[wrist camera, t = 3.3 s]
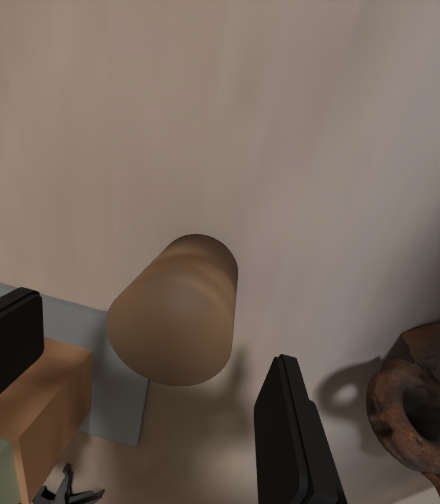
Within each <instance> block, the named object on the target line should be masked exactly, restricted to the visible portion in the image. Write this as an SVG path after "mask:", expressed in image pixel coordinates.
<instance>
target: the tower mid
mask: <svg viewBox="0 0 440 504" xmlns="http://www.w3.org/2000/svg"><path fill="white" fill-rule="evenodd" d="M20 500H21V497H20V491H19V486H18V480H17V475H16V469H15V464H14V458H13V453H12V447H11V442H10V441H7V440H3V439H0V504H18V503H19V502H20Z"/></svg>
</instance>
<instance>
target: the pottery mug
mask: <svg viewBox="0 0 440 504" xmlns="http://www.w3.org/2000/svg"><path fill="white" fill-rule="evenodd" d="M401 337H402V339H403V341H404V342H405V344H406V345H407V346H408V348H409V352H410V354H411V356H412V358H413V360H414V364H413V363H410V362H408V361H405V360H403V359H399V358H389V359H387V360H386V361H385V362H384V363H383V365H382V368H381V370H380V372H378V373H377V374H375V375H374V376H373V377H372V378H371V380H370V382H369V384H368V388H367V396H366V408H367V415H368V418H369V422H370V424H371V427H372V429H373V431H374V433H375V435H376V436H377V438H378V440H379V442H380V443H381V444H382V446H383V447H384V448H385V449H386V450H387V451H388V452H389V453H390V454H391V455H392V456H393V457H394V458H395V459H397V460H398V461H399V462H400V463H402V464H403V465H405V466H406V467H408V468H410V469H412V470H415V471H420V472H421V474H422V475H424V476H425V477H426V478H427V479H429V480H430V481H431V482H432V483H433V484H434V486H435V488H436V490H437V492H438V494H439V496H440V322H437V323H434V324H428V325H425V326H422V327H419V328H415V329H412V330H410V331H407V332H404V333H402V335H401Z"/></svg>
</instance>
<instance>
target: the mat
mask: <svg viewBox="0 0 440 504" xmlns="http://www.w3.org/2000/svg"><path fill="white" fill-rule="evenodd" d="M15 289H17V288H15V287H11V286H8V285H4V284H0V297H1V296H3V295H5V294H7V293H9V292H11V291H13V290H15ZM40 296H41V297H42V301H43V325H44V337H46V338H50V339H54V340H57V341H61V342H65V343H68V344H72V345H75V346H79V347H83V348H86V349H90V350H93V357H92V388H91V410H90V412H89V414H88V415H87V417H86V418H85V420H84V421H83V423H82V424H81V426H80V428H79V429H78V431H80V432H83V433H87V434H90V435H94V436H97V437H101V438H104V439H108V440H112V441H115V442H119V443H122V444H126V445H129V446H133V447H136V448H137V445H138V442H139V436H140V430H141V424H142V418H143V412H144V406H145V400H146V394H147V388H148V382H149V379H146V378H144V377H142V376H141V375H139V374H137V373H136V372H134V371H133V370H131V369H130V368H129V367H128V366H127V365H125V364H124V363H123V362H122V361H121V359H120V358H119V357H118V356H117V354H116V353H115V351H114V350H113V348H112V346H111V344H110V342H109V339H108V335H107V330H106V320H107V314H108V313H107V312H104V311H100V310H96V309H93V308H89V307H85V306H82V305H78V304H74V303H70V302H67V301H63V300H59V299H56V298H52V297H48V296H45V295H41V294H40Z"/></svg>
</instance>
